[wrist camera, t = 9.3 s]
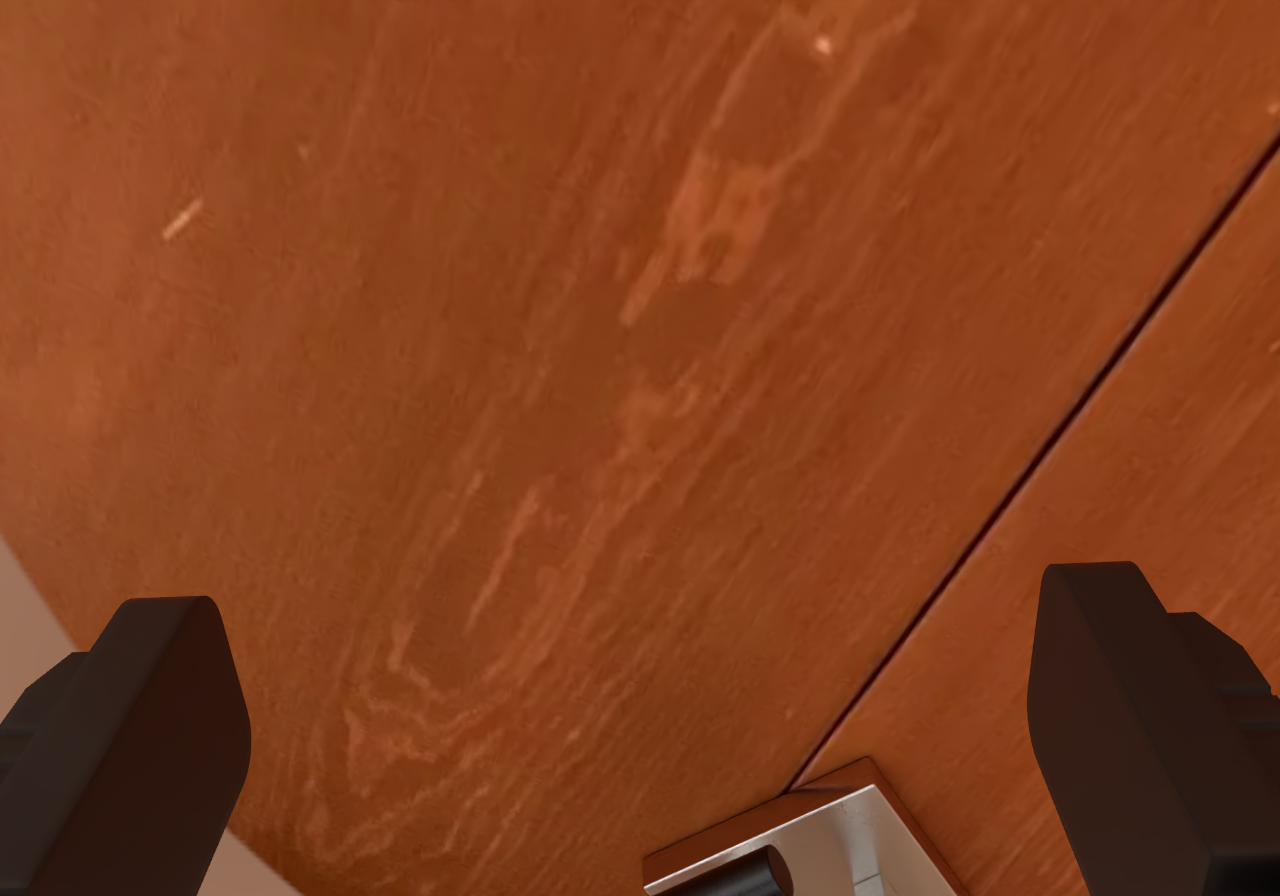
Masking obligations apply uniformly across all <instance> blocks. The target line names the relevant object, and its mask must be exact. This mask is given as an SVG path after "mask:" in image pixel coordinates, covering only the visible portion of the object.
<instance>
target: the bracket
mask: <svg viewBox="0 0 1280 896" xmlns="http://www.w3.org/2000/svg"><path fill="white" fill-rule="evenodd" d="M768 844H771V845H773V846H774V847H776V849H777V850H778V851H779V852H780V854H781V855H782V857H783V858H784V860H785V862H786V864H787V866H788V869H789V871H790V874H791V877H792V881H793V886H794V895H793V896H970V895H969V894H968V892H967V891H966V890H965V888H964V887H963V885H962V884H961V883H960V881H959V880H958V879H957V877H956V876H955V874H954V873H953V872H952V870H951V869H950V868H949V866H948V865H947V863H946V862H945V861H944V859H943V858H942V857H941V855H940V854H939V853H938V851H937V850H936V848H935V847H934V846H933V844H932V843H931V842H930V840H929V839H928V837H927V836H926V835H925V833H924V832H923V831H922V829H921V828H920V826H919V825H918V824H917V822H916V821H915V820H914V818H913V817H912V815H911V814H910V813H909V811H908V810H907V809H906V807H905V806H904V804H903V803H902V802H901V800H900V799H899V798H898V796H897V795H896V793H895V792H894V791H893V789H892V788H891V787H890V785H889V784H888V782H887V781H886V780H885V778H884V777H883V776H882V774H881V773H880V772H879V770H878V769H877V767H876V766H875V765H874V763H873V762H872V761H871V759H870V758H869V757H865V758H863V759H861V760H859V761H857V762H855V763H852V764H850V765H848V766H846V767H844V768H841V769H839V770H837V771H835V772H833V773H830V774H828V775H826V776H824V777H822V778H819V779H817V780H815V781H813V782H811V783H808V784H806V785H804V786H802V787H800V788H797V789H795V790H793V791H791V792H789V793H787V794H784V795H782V796H780V797H778V798H776V799H773V800H771V801H769V802H767V803H765V804H762V805H760V806H758V807H756V808H754V809H751V810H749V811H747V812H745V813H743V814H740V815H738V816H736V817H734V818H732V819H730V820H727V821H725V822H723V823H721V824H719V825H716V826H714V827H712V828H710V829H708V830H705V831H703V832H701V833H699V834H697V835H694V836H692V837H690V838H688V839H686V840H683V841H681V842H679V843H677V844H675V845H673V846H670V847H668V848H666V849H664V850H662V851H659V852H657V853H655V854H653V855H651V856H648V857H646V858H644V859H643V889H644V890H645V891H646V892H647V893H648V894H649V896H653V895H655V894H657V893H660V892H662V891H664V890H666V889H669V888H671V887H673V886H675V885H678V884H680V883H682V882H684V881H687V880H689V879H691V878H693V877H696V876H698V875H700V874H702V873H705V872H707V871H709V870H711V869H714V868H716V867H718V866H720V865H723V864H725V863H727V862H729V861H731V860H734V859H736V858H738V857H740V856H743V855H745V854H747V853H749V852H752V851H754V850H756V849H758V848H761V847H763V846H765V845H768Z"/></svg>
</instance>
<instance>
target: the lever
mask: <svg viewBox="0 0 1280 896" xmlns="http://www.w3.org/2000/svg"><path fill="white" fill-rule="evenodd" d="M793 895H794V886H793V881H792V877H791V874H790V871H789V869H788V866H787V864H786V862H785V860H784V858H783V857H782V855H781V854H780V852H779V851H778V850H777V849H776V847H774V846H773V845H771V844H768V845H765V846H763V847H761V848H758V849H756V850H754V851H752V852H749V853H747V854H745V855H743V856H740V857H738V858H736V859H734V860H731V861H729V862H727V863H725V864H723V865H720V866H718V867H716V868H714V869H711V870H709V871H707V872H705V873H702V874H700V875H698V876H696V877H693V878H691V879H689V880H687V881H684V882H682V883H680V884H678V885H675V886H673V887H671V888H669V889H666V890H664V891H662V892H660V893H657V894H655V895H653V896H793Z"/></svg>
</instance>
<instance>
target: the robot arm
mask: <svg viewBox="0 0 1280 896" xmlns="http://www.w3.org/2000/svg"><path fill="white" fill-rule="evenodd" d="M1027 712H1028V723H1029V731H1030V737H1031V742H1032V746H1033V750H1034V753H1035V756H1036V759H1037V762H1038V764H1039V767H1040V769H1041V772H1042V774H1043V777H1044V779H1045V782H1046V784H1047V787H1048V789H1049V792H1050V794H1051V797H1052V799H1053V802H1054V804H1055V807H1056V810H1057V812H1058V815H1059V817H1060V820H1061V822H1062V825H1063V827H1064V830H1065V832H1066V835H1067V837H1068V840H1069V842H1070V845H1071V847H1072V850H1073V852H1074V855H1075V857H1076V860H1077V862H1078V865H1079V867H1080V870H1081V872H1082V875H1083V877H1084V880H1085V882H1086V885H1087V888H1088V890H1089V893H1090V895H1091V896H1280V699H1279V698H1278V697H1277V695H1273V696H1272V694H1271V686H1270V685H1269V684H1268V682H1267V681H1266V679H1265V678H1264V676H1263V675H1262V674H1261V672H1260V671H1259V669H1258V668H1257V666H1256V665H1255V664H1254V662H1253V661H1252V659H1251V658H1250V656H1249V655H1248V653H1247V652H1246V651H1245V649H1244V648H1243V646H1241V645H1240V644H1239V643H1237V642H1236V641H1235V640H1233V639H1232V638H1230V637H1229V636H1228V635H1226V634H1225V633H1223V632H1222V631H1221V630H1219V629H1218V628H1217V627H1215V626H1214V625H1212V624H1211V623H1210V622H1208V621H1207V620H1206V619H1204V618H1203V617H1201V616H1200V615H1199V614H1197V613H1196V612H1183V613H1167V612H1166V610H1165V608H1164V607H1163V605H1162V604H1161V602H1160V601H1159V599H1158V597H1157V596H1156V594H1155V593H1154V591H1153V589H1152V588H1151V586H1150V585H1149V583H1148V582H1147V580H1146V578H1145V577H1144V575H1143V574H1142V572H1141V571H1140V569H1139V568H1138V566H1137V565H1135V564H1134V563H1133V562H1131V561H1118V562H1093V563H1068V564H1050V565H1049V566H1048V567H1047V568H1046V569H1045V572H1044V574H1043V578H1042V582H1041V588H1040V596H1039V604H1038V612H1037V620H1036V628H1035V636H1034V644H1033V652H1032V659H1031V667H1030V675H1029V683H1028V693H1027ZM250 754H251V727H250V720H249V715H248V711H247V708H246V704H245V700H244V697H243V693H242V690H241V686H240V682H239V679H238V675H237V672H236V668H235V665H234V661H233V657H232V654H231V650H230V647H229V643H228V639H227V636H226V632H225V629H224V625H223V621H222V618H221V615H220V612H219V609H218V607H217V605H216V604H215V602H214V601H213V600H212V599H211V598H210V597H208V596H185V597H160V598H135V599H129V600H126V601H125V602H124V603H123V604H122V605H121V606H120V607H119V608H118V610H117V611H116V613H115V614H114V616H113V617H112V619H111V620H110V622H109V623H108V625H107V626H106V628H105V629H104V631H103V632H102V634H101V635H100V637H99V638H98V639H97V641H96V642H95V644H94V645H93V647H92V648H91V650H90V651H89V652H72V653H71V654H70V655H68V656H67V657H66V658H65V659H63V660H62V661H61V662H60V663H58V664H57V665H56V666H54V667H53V668H52V669H50V670H49V671H48V672H47V673H46V674H44V675H43V676H41V677H40V678H39V679H38V680H36V681H35V682H34V683H33V684H31V685H30V686H29V687H27V688H26V689H25V691H24V692H23V693H22V695H21V696H20V698H19V699H18V700H17V702H16V703H15V705H14V706H13V707H12V709H11V710H10V712H9V713H8V714H7V716H6V717H5V719H4V720H3V721H2V723H1V724H0V896H196V895H197V893H198V891H199V888H200V886H201V884H202V882H203V879H204V877H205V875H206V872H207V870H208V867H209V865H210V863H211V860H212V858H213V855H214V853H215V851H216V848H217V846H218V844H219V841H220V839H221V837H222V834H223V832H224V830H225V827H226V825H227V822H228V820H229V818H230V815H231V813H232V811H233V808H234V806H235V804H236V801H237V799H238V796H239V794H240V792H241V789H242V787H243V785H244V782H245V779H246V776H247V772H248V768H249V762H250Z"/></svg>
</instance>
